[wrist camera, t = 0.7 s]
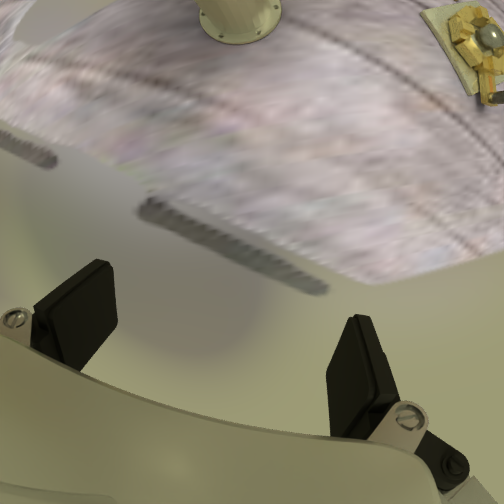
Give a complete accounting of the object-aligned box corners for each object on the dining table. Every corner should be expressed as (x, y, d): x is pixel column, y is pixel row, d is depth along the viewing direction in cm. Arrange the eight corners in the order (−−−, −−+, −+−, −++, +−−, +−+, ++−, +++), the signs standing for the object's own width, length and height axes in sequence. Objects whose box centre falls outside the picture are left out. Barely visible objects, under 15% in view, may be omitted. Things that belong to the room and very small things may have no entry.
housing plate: (419, 13, 28) (438, -4, 20) (475, 2, 23) (495, -10, 15) (467, 95, 32) (494, 91, 24) (516, 75, 27) (541, 71, 19)
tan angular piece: (443, 3, 24) (464, -14, 17) (495, 25, 23) (518, 15, 15) (458, 96, 31) (486, 91, 23) (509, 113, 29) (537, 113, 22)
